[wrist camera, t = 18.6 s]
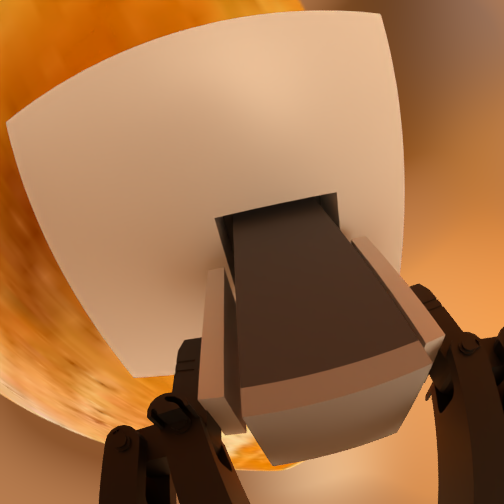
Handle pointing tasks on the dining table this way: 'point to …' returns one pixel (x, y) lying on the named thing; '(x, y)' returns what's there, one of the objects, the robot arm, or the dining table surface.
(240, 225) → the plug
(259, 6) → the dining table surface
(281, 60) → the socket plate
